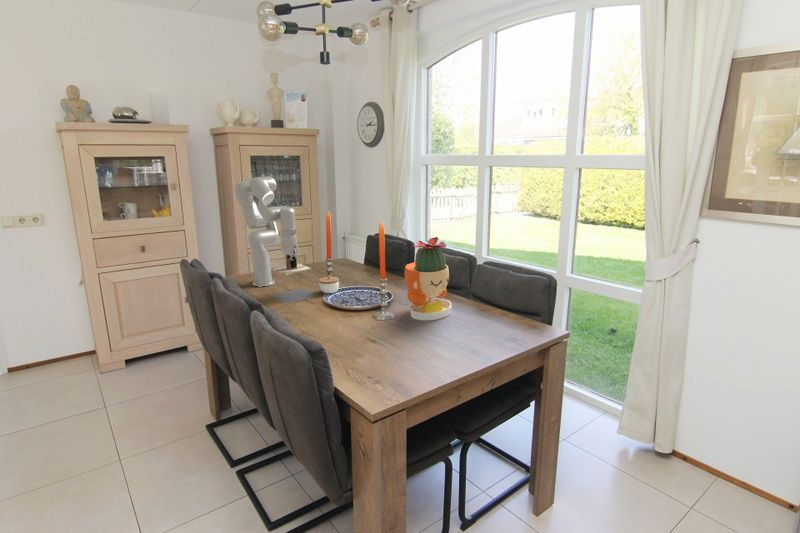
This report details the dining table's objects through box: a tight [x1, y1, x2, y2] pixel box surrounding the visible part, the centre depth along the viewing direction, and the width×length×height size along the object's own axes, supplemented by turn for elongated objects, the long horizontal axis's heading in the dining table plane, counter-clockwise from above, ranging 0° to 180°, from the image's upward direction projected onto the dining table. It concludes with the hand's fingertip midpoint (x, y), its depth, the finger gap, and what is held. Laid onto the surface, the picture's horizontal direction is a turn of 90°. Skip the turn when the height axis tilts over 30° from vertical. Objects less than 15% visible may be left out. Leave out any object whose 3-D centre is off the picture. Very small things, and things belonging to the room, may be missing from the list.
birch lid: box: [271, 258, 313, 277], centre depth 239 cm, size 15×15×6 cm
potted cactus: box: [403, 236, 452, 321], centre depth 209 cm, size 22×22×35 cm
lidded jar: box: [318, 275, 340, 294], centre depth 245 cm, size 11×11×9 cm
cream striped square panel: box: [272, 288, 319, 305], centre depth 243 cm, size 18×18×1 cm
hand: (291, 266), depth 239 cm, fingers closed on birch lid, 4 cm apart
